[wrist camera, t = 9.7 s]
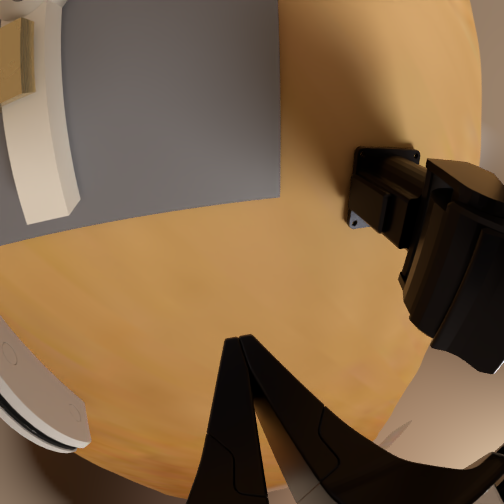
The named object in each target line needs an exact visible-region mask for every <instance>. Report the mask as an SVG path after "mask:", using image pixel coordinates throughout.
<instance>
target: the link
mask: <svg viewBox="0 0 504 504" xmlns="http://www.w3.org/2000/svg"><path fill="white" fill-rule="evenodd" d="M67 1H68V0H0V20H1V27H3V26H5V25H7V24H9V23H11V22H13V21H14V20H16V19H18V18H20V17H22V18H25V19H28V20H31V21H34V73H35V88H36V92H34V93H32V94H29V95H27V96H25V97H22V98H20V99H18V100H15V101H13V102H11V103H9V104H6V105H4V106H2V115H3V123H4V130H5V137H6V143H7V148H8V154H9V159H10V163H11V168H12V173H13V177H14V181H15V185H16V189H17V192H18V196H19V200H20V203H21V207H22V210H23V213H24V216H25V220H26V223H27V225H29V224H34V223H38V222H42V221H47V220H51V219H55V218H60V217H65V216H69V215H70V213H71V212H72V211H73V209H74V208H75V206H76V205H77V204H78V202H79V201H80V195H79V190H78V186H77V182H76V177H75V172H74V167H73V162H72V156H71V151H70V145H69V139H68V132H67V125H66V117H65V108H64V98H63V86H62V70H61V17H62V7H63V6H64V5H65V3H66V2H67Z"/></svg>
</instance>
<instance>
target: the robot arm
mask: <svg viewBox="0 0 504 504" xmlns="http://www.w3.org/2000/svg"><path fill="white" fill-rule="evenodd" d="M362 151H363V155H362V156H360V154H361V152H362ZM414 155H415V156H414ZM419 161H420V152H419V151H418V150H415V149H407V148H389V147H358V148H357V149H356V150H355V153H354V165H353V175H352V177H351V187H350V196H349V204H348V207H349V210H348V218H347V225H348V226H349V227H350V228H352V229H357V228H364V227H372V228H373V229H374V230H375V231H376V232H378V233H379V234H380V233H382V234H383V235H384V236H385V237H386V238H387V239H389V240H390V241H391V242H392V243H393V244H394V245H395V246H396V247H398V248H399V249H403V248H405V249H406V250H407V251H408V253H407V256H406V260H405V263H404V266H403V269H402V272H400V275H399V278H398V281H399V283H400V285H401V287H402V290H403V299H404V303H405V305H406V307H407V309H408V311H409V313H410V316H409V319H410V321H411V322H412V323H413V324H414V325H415V326H416V327H417V328H418V329H419V330H420V331H421V332H423V333H424V334H426V335H427V336H429V337H431V338H433V340H432V342H431V344H430V346H431V347H432V348H434V349H438V350H443V351H447V352H449V353H452V354H454V355H456V356H458V357H460V358H461V359H463V360H465V361H466V362H467V363H468V364H470V365H471V366H472V367H473V368H475V369H476V370H477V371H479V372H483V373H488V374H494V373H496V371H497V370H498V369H499V368H500V366H501V365H502V364H503V363H504V185H503V184H502V182H501V181H500V180H499V179H498V178H497V177H496V175H495V174H493V173H492V172H489V171H487V170H485V169H482V168H480V167H478V166H476V165H473V164H471V163H468V162H461V161H451V160H441V159H429V158H427V162H426V168H425V167H423V166H421V165H419ZM353 221H355V222H354V223H353V224H352V222H353ZM255 411H256V414H257V416H258V419H259V421H260V423H261V426H262V428H263V431H264V433H265V435H266V438H267V440H268V442H269V445H270V447H271V449H272V451H273V454H274V456H275V458H276V460H277V463H278V465H279V467H280V469H281V471H282V474H283V476H284V478H285V480H286V482H287V484H288V487H289V489H290V491H291V493H292V495H293V497H294V499H295V501H296V503H297V504H504V444H503V445H502V446H500V447H499V448H498V449H497V450H496V451H495V452H491V453H488V454H487V455H485V456H483V457H482V458H480V459H479V460H477V461H476V462H474V463H473V464H471V465H469V466H468V467H466V468H465V469H451V468H445V467H438V466H432V465H426V464H420V463H415V462H410V461H407V460H404V459H401V458H398V457H396V456H394V455H392V454H391V453H389V452H387V451H386V450H384V449H383V448H381V447H380V446H378V445H376V444H375V443H373V442H372V441H370V440H369V439H367V438H366V437H364V436H363V435H361V434H360V433H358V432H357V431H355V430H354V429H353V428H351V427H350V426H348V425H347V424H346V423H345V422H343V421H342V420H341V419H340V418H339V417H337V416H336V415H335V414H334V413H333V412H332V411H331V410H329V409H328V408H327V407H326V406H325V407H324V404H323V403H322V402H321V401H320V400H318V399H317V398H316V397H315V396H314V395H313V394H312V393H311V392H310V391H309V390H308V389H307V388H306V387H305V386H304V385H303V384H302V383H300V382H299V381H298V380H297V379H296V378H295V377H294V376H293V375H292V374H291V373H290V372H289V371H288V370H287V369H286V368H285V367H284V366H283V365H282V364H281V363H280V362H279V361H278V360H277V359H276V358H275V357H274V356H273V355H272V354H271V353H270V352H269V351H268V350H267V349H266V348H265V347H264V346H263V345H262V344H261V343H260V342H259V341H258V340H257V339H256V338H255V337H254V336H253V335H251V334H248V335H243V336H240V337H239V338H238V337H232V338H226V339H225V341H224V346H223V351H222V356H221V361H220V366H219V371H218V376H217V381H216V387H215V392H214V397H213V402H212V407H211V412H210V418H209V423H208V428H207V434H206V438H205V443H204V448H203V452H202V457H201V461H200V464H199V467H198V471H197V474H196V477H195V480H194V483H193V485H192V488H191V491H190V494H189V496H188V499H187V502H186V504H269V500H268V498H267V497H268V494H267V488H266V482H265V475H264V469H263V463H262V456H261V450H260V443H259V436H258V429H257V423H256V416H255Z"/></svg>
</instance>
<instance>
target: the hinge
mask: <svg viewBox="0 0 504 504" xmlns="http://www.w3.org/2000/svg"><path fill="white" fill-rule="evenodd" d="M0 417H1V418H2V419H3V420H4V421H5V422H6V423H7V424H8V425H9V426H11V427H12V428H13V429H14V430H16V431H17V432H18V433H20V434H21V435H22V436H24V437H25V438H27V439H29V440H31V441H32V442H34V443H36V444H37V445H40V446H42V447H44V448H47V449H49V450H53V451H57V452H61V453H70V452H75V451H76V450H77V448H84V447H86V446H87V445H88V444H89V443H90V442H91V436H90V431H89V426H88V421H87V415H86V409H85V403H84V402H83V401H82V400H81V399H80V398H78V397H77V396H76V395H75V394H74V393H73V392H72V391H70V390H69V389H68V388H67V387H66V386H65V385H64V384H63V383H62V382H61V381H59V380H58V379H57V378H56V377H55V376H54V375H53V374H52V373H51V372H50V371H49V370H48V369H47V368H46V367H45V366H44V365H43V364H42V363H41V362H40V361H39V360H38V359H37V358H36V357H35V356H34V355H33V353H32V352H31V351H30V350H29V349H28V348H27V347H26V346H25V345H24V344H23V342H22V341H21V340H20V339H19V338H18V337H17V336H16V334H15V333H14V332H13V331H12V330H11V328H10V327H9V326H8V325H7V323H6V322H5V321H4V320H3V318H2V317H1V316H0Z"/></svg>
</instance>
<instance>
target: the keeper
mask: <svg viewBox="0 0 504 504" xmlns="http://www.w3.org/2000/svg"><path fill="white" fill-rule="evenodd" d="M34 92H36V88H35V73H34V21H31V20H28V19H25V18H22V17H20V18H18V19H16V20H14V21H13V22H11V23H9V24H7V25H5V26H3V27H1V28H0V113H2V106H4V105H6V104H9V103H11V102H13V101H15V100H18V99H20V98H22V97H25V96H27V95H29V94H32V93H34Z"/></svg>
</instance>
